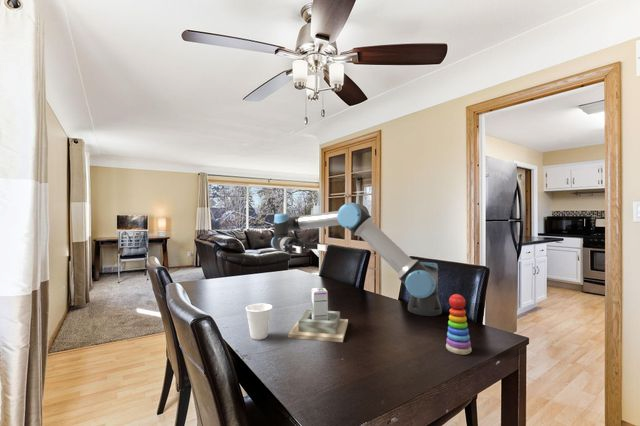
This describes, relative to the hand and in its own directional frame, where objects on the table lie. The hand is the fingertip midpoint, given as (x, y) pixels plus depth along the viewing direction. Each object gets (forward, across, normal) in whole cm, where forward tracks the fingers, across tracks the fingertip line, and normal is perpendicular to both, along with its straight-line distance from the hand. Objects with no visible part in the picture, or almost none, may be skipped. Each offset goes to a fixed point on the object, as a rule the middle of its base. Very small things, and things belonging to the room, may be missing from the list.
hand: (313, 249), depth 138 cm
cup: (+7, +29, -30) cm, 43 cm away
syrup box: (+14, +7, -29) cm, 33 cm away
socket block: (+14, +6, -30) cm, 34 cm away
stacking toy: (+55, -22, -30) cm, 67 cm away
